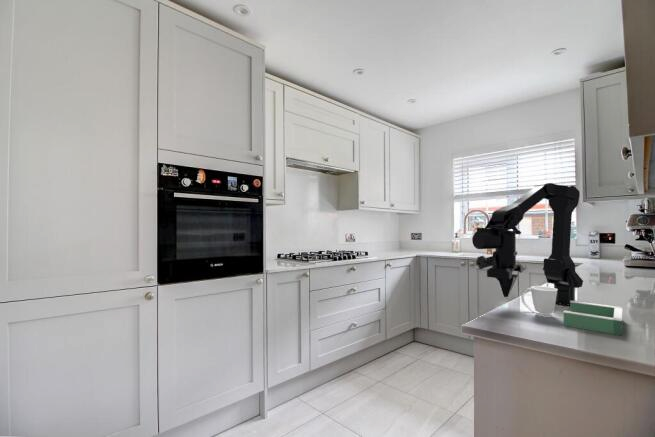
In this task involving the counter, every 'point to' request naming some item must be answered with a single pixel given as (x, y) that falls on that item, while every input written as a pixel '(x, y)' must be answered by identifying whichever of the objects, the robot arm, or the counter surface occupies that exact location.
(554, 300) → the cup
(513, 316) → the counter surface
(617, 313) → the pocket
